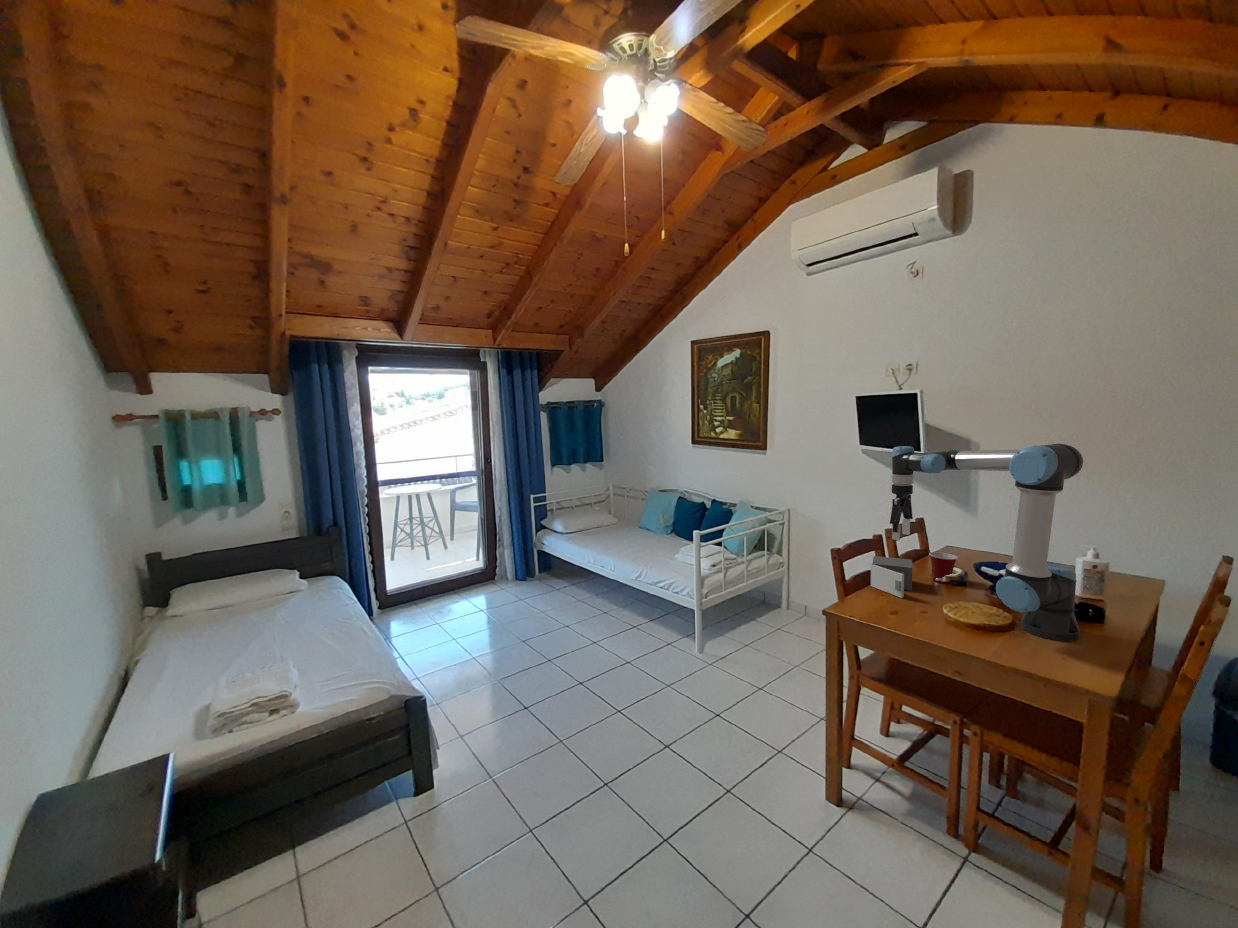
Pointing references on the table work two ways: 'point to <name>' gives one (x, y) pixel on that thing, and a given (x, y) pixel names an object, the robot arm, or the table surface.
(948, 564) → the plastic cup
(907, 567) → the grey box with door
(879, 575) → the side door
